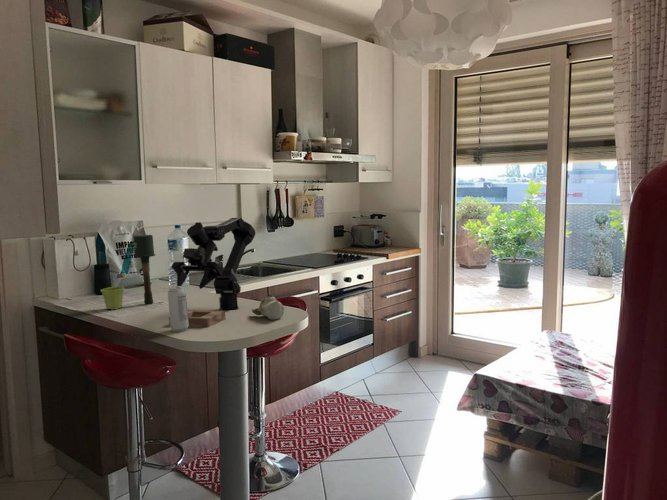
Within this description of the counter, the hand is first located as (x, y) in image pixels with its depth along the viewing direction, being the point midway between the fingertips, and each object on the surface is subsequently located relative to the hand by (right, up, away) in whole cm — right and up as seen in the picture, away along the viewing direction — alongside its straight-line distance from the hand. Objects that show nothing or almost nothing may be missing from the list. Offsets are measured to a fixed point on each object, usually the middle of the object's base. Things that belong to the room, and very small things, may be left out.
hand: (188, 287), depth 190 cm
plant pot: (-42, -12, +37) cm, 57 cm away
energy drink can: (-2, -14, -5) cm, 15 cm away
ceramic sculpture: (+28, -12, +8) cm, 31 cm away
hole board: (+2, -13, +5) cm, 14 cm away
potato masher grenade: (-29, -10, +44) cm, 54 cm away
